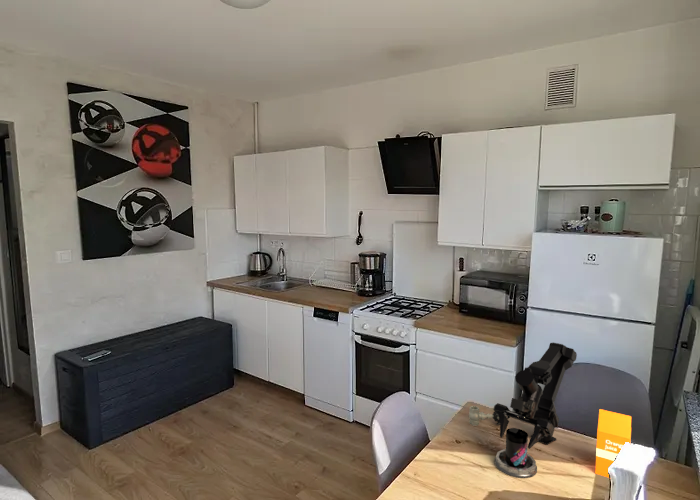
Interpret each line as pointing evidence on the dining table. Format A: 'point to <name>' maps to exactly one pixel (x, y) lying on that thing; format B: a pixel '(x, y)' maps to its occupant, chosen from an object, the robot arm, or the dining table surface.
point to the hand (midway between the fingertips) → (514, 442)
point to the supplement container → (516, 448)
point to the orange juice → (610, 438)
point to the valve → (480, 416)
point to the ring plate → (515, 472)
